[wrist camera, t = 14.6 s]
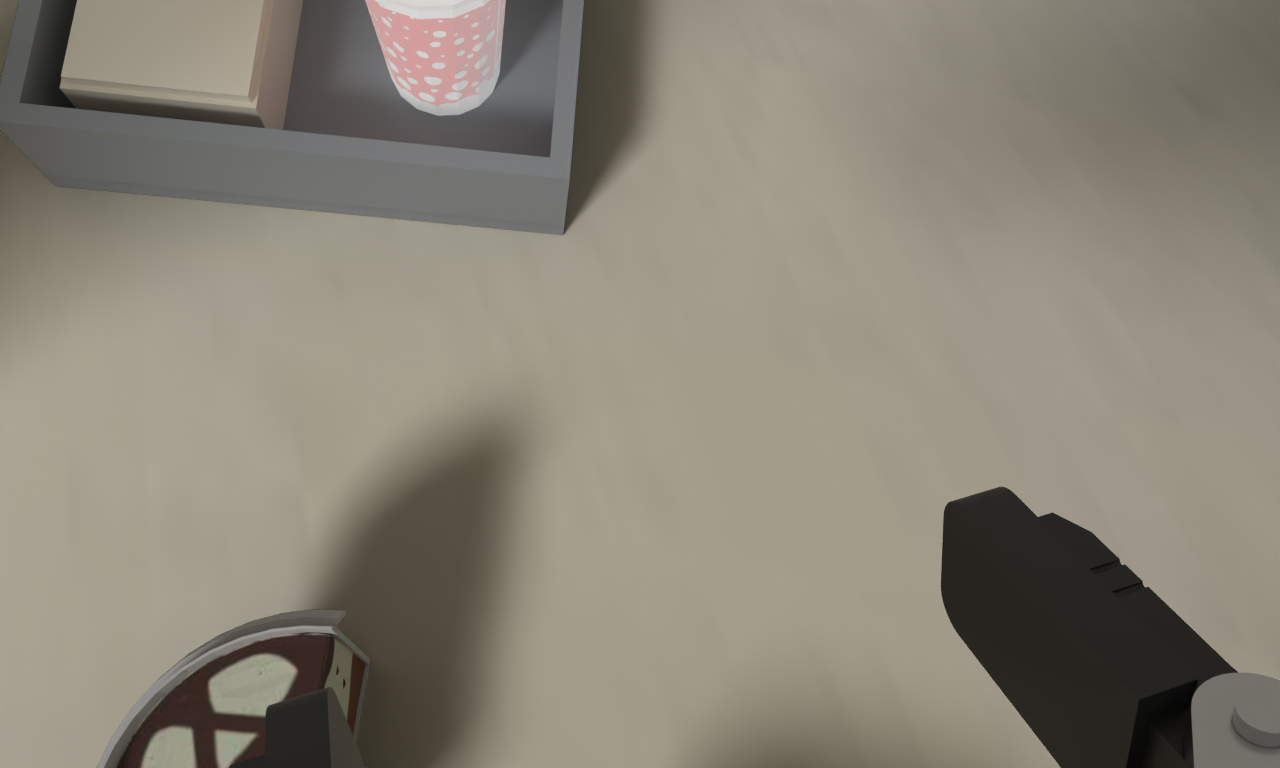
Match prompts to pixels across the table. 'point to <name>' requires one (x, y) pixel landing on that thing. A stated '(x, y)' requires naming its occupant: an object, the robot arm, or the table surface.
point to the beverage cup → (441, 50)
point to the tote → (325, 127)
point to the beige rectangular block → (184, 59)
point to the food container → (239, 692)
